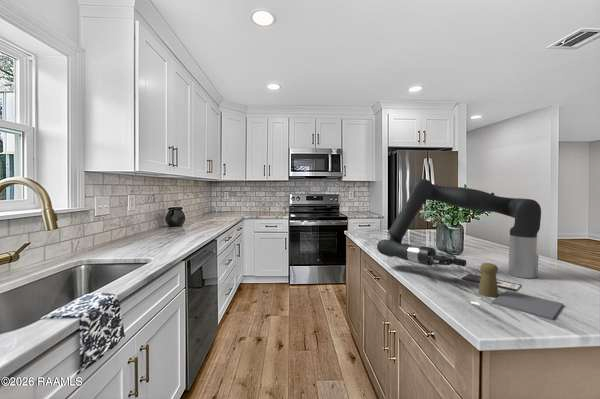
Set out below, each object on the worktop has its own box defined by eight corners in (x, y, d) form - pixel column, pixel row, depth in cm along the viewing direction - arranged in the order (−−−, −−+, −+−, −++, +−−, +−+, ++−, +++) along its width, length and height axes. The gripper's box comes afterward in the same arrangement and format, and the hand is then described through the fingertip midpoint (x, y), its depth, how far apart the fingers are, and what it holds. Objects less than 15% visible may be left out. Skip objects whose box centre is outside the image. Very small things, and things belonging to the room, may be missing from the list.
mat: (491, 303, 92) (491, 301, 92) (507, 291, 102) (507, 290, 102) (552, 320, 80) (552, 317, 80) (562, 305, 90) (562, 303, 90)
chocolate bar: (469, 273, 122) (521, 284, 109) (469, 275, 122) (520, 286, 109) (461, 278, 116) (515, 290, 103) (461, 280, 116) (515, 292, 103)
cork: (502, 296, 98) (503, 265, 98) (490, 298, 96) (491, 266, 95) (485, 290, 104) (486, 260, 103) (474, 292, 101) (475, 262, 101)
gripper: (413, 248, 115) (458, 256, 101) (429, 244, 123) (472, 250, 109) (412, 266, 115) (457, 276, 101) (428, 260, 123) (472, 269, 110)
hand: (465, 263), depth 105 cm, fingers closed
